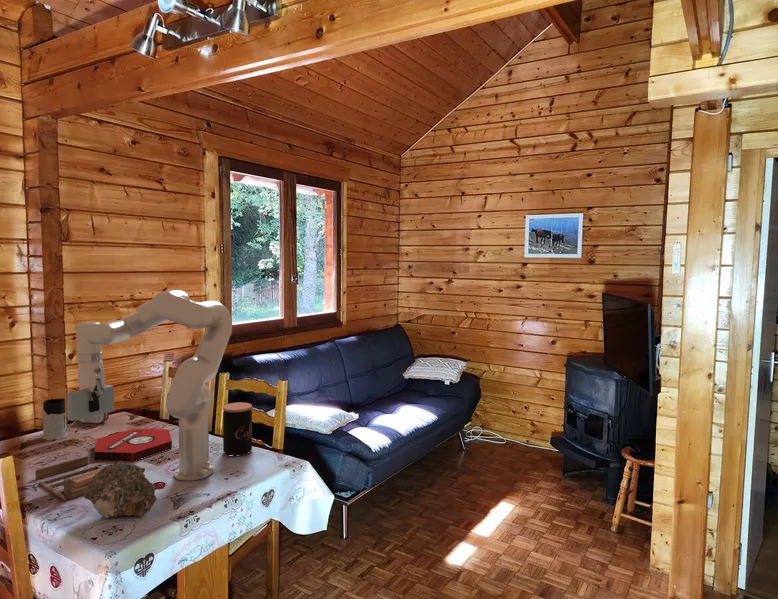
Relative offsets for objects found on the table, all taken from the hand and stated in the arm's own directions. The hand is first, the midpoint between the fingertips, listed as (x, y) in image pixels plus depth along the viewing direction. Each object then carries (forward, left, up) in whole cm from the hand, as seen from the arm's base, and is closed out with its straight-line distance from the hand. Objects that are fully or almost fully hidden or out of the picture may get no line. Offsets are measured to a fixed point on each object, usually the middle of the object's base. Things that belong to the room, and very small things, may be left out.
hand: (91, 409), depth 175 cm
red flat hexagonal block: (+9, -19, -22) cm, 30 cm away
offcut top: (-14, +7, -19) cm, 25 cm away
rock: (-40, +7, -21) cm, 46 cm away
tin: (+54, -23, -21) cm, 63 cm away
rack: (-6, +7, -21) cm, 23 cm away
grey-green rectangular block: (0, 0, -2) cm, 2 cm away
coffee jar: (-26, -41, -21) cm, 53 cm away
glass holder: (+45, -8, -21) cm, 51 cm away
